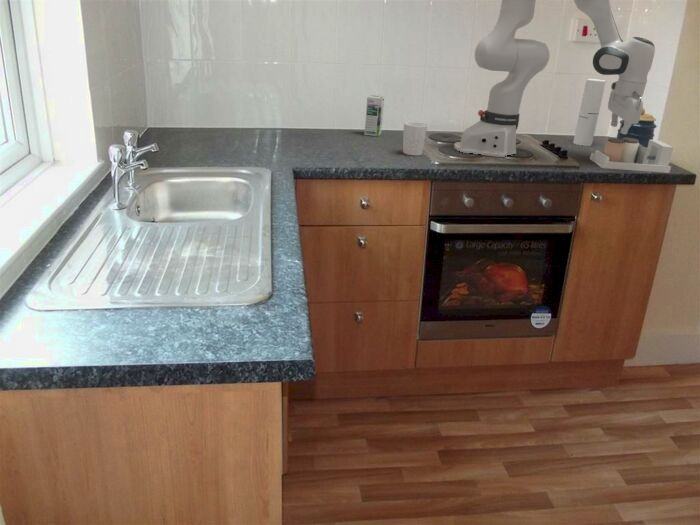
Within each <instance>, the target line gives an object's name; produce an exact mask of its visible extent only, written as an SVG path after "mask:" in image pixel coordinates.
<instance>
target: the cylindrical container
mask: <svg viewBox="0 0 700 525" xmlns="http://www.w3.org/2000/svg"><path fill="white" fill-rule="evenodd" d="M606 82H607V80H604V79H599V78H586V80H585V85H584V89H583V93H582V99H581V104H580V108H579V113H578V117H577V118H578V119H577V124H576V127H575V132H574V138H573V141H572V142H573V144H574V145H577V146H582V145H583V146H582V147H592V146H591V145H593V142H594V141H593V140H594V138H595V136H594V135H595V132H596V128H597V123H598V119H599V113H600V109H601V104H602V101H603V96H604V92H605V86H606Z"/></svg>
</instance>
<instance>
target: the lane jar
mask: <svg viewBox="0 0 700 525" xmlns="http://www.w3.org/2000/svg"><path fill="white" fill-rule="evenodd" d="M623 139H624V142H625V145H624V149H623V153H622V157H621V161H620V162H623V163H634V162H635V158H636V154H637V150H638V146H639V142H638V141H639V140H638V139H635V138H629V137H623Z"/></svg>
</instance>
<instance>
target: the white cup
mask: <svg viewBox="0 0 700 525" xmlns="http://www.w3.org/2000/svg"><path fill="white" fill-rule="evenodd" d="M427 130H428V124H425V123H424V122H416V121H409V122H408V121H406V122H404V123H403V135H402V138H403V139H402V153H403V154H405V155H408V156H422V155H423V149H424V146H425V142H426V136H427V135H426V134H427Z"/></svg>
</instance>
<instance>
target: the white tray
mask: <svg viewBox="0 0 700 525" xmlns="http://www.w3.org/2000/svg"><path fill="white" fill-rule="evenodd" d="M647 148H648V149H649V152H648V155H650V156H656V159H655V160H648V159H647V160H646V163H645V164H637V163H623V162H610V161H609V157H608V156H606V155H605V154H604V152H602V151H600V150H599V149H595V152H591V153H590V156H589V160H590V161H592V162H594V163H595V164H596V165H598V166H599V167H600V168H601V169H609V170H623V171H634V172H651V173H663V174H664V173H665V174H670V172H671V168H672V166H671V165H669V164H670V162H671V157H672V153H673V150H674V146H671V145H669V143H665V142H663V141H661V140H660V139H659V140H658V139H653V140H649V143H648V147H647Z"/></svg>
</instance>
